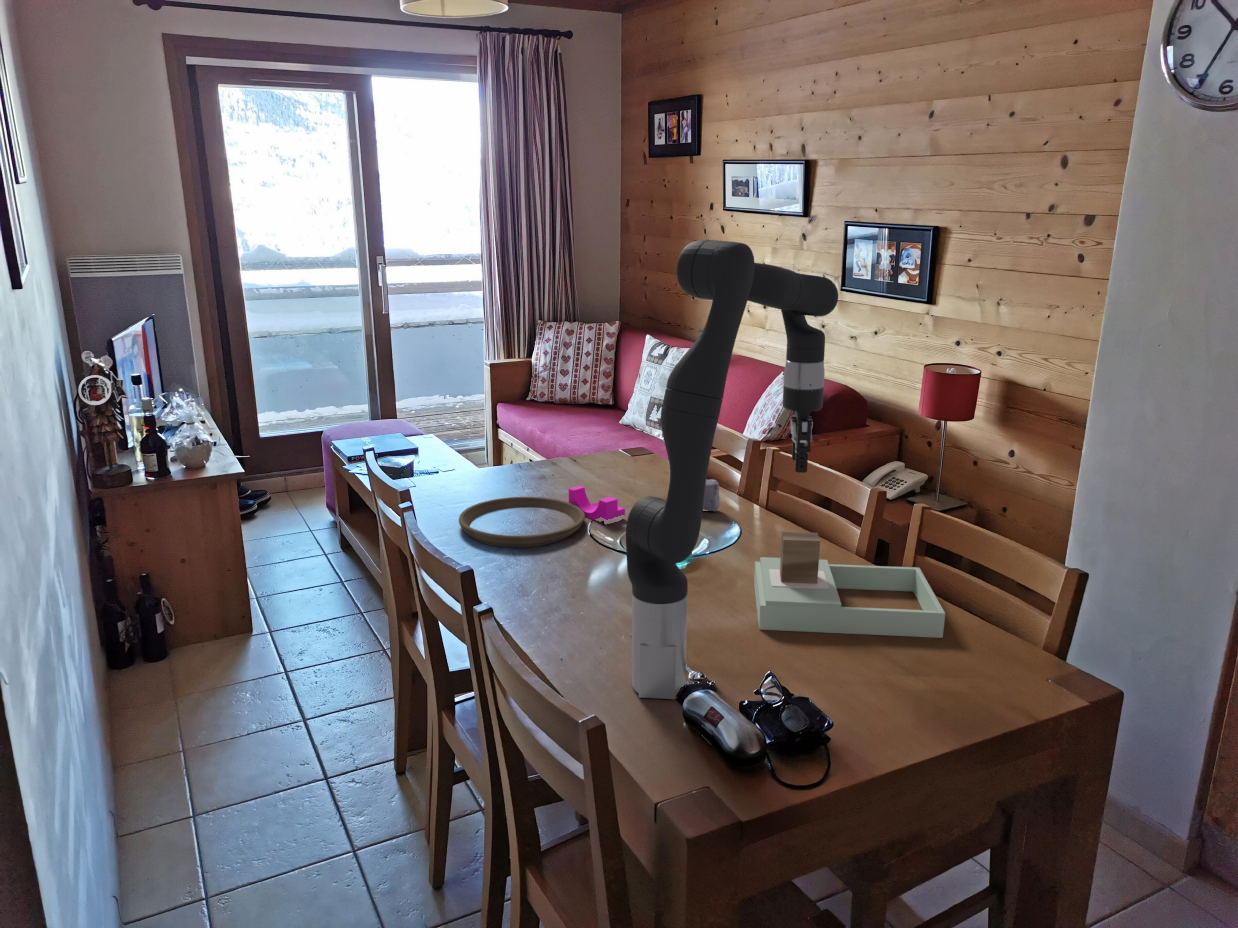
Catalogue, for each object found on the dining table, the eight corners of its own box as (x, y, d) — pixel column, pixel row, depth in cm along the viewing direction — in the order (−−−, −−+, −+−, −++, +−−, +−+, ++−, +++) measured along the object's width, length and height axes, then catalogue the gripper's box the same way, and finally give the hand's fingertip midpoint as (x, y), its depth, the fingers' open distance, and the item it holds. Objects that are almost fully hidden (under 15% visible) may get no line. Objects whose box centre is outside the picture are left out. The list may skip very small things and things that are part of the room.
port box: (942, 637, 167) (946, 607, 166) (759, 629, 171) (760, 599, 169) (917, 589, 188) (919, 562, 187) (754, 583, 192) (755, 556, 190)
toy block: (624, 525, 227) (624, 497, 225) (606, 530, 223) (606, 502, 221) (587, 510, 238) (587, 483, 236) (569, 515, 234) (568, 488, 232)
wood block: (817, 583, 176) (820, 540, 174) (781, 582, 177) (783, 539, 174) (814, 574, 180) (817, 532, 178) (779, 573, 181) (781, 531, 179)
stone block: (672, 514, 235) (673, 477, 232) (679, 509, 239) (680, 473, 236) (714, 521, 229) (715, 484, 227) (721, 515, 233) (722, 479, 231)
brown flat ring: (562, 505, 242) (562, 489, 241) (602, 543, 215) (602, 526, 213) (448, 519, 231) (447, 503, 230) (475, 562, 204) (474, 543, 202)
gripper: (827, 391, 163) (822, 477, 167) (820, 377, 176) (815, 456, 181) (785, 391, 163) (781, 475, 168) (781, 376, 177) (777, 455, 182)
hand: (799, 465), depth 174 cm, fingers open, 8 cm apart
